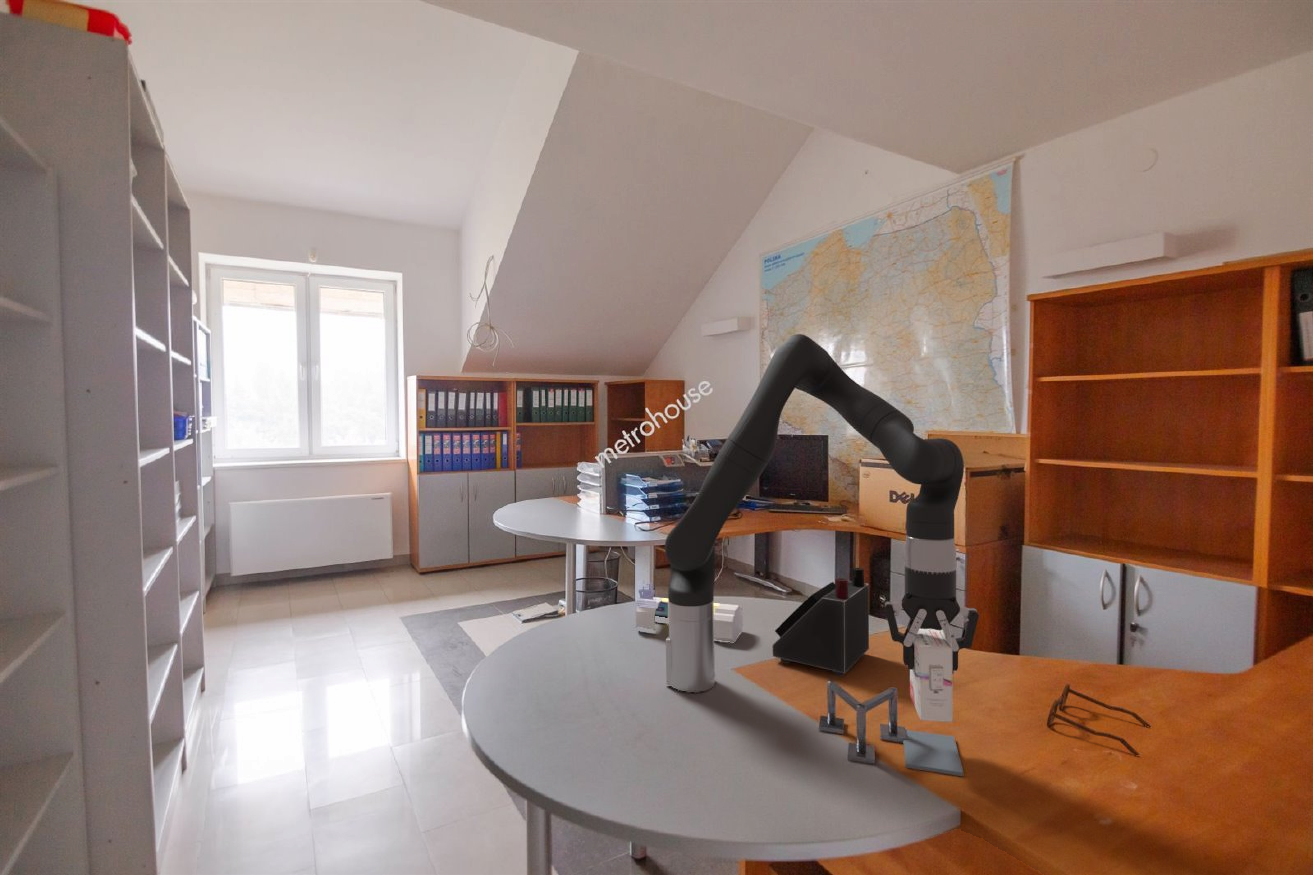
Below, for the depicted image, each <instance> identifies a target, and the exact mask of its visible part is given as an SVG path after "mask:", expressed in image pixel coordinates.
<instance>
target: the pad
mask: <svg viewBox="0 0 1313 875" xmlns="http://www.w3.org/2000/svg"><path fill="white" fill-rule="evenodd" d="M905 730H906V740H904V739H903V743H902V744H903V753H904V761H905V762H904V763H905V768H907V769H912V770H920V771H926V772H932V773H940V774H944V775H945V774H946V775H953V776H957V777H964V770H963V766H962V762H961V758H960V754H959V751H958V747H957V744H956V740H955V739H956V738H955V736H954V735H946V734H939V733H932V732H925V731H919V730H911V729H910V730H909V729H905Z"/></svg>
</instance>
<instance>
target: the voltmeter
mask: <svg viewBox="0 0 1313 875" xmlns="http://www.w3.org/2000/svg"><path fill="white" fill-rule="evenodd" d="M864 572H865V571H864V568H861V567H853V568H852V575H851V576H852V578H851V580H848V579H847V578H843V577H840V578H839V577H837V578H835V583H834V581H832V582H830V583H828V584H827V585H824V587H822V588H820V589H819V590H817V591H816V592H814V593H812V594H811V595H810V596H809V597H808V598H806V600H804V602H802V603H801V604H800V605H799V606H798V607H797V608H796V609H795V610H794V611H793V612H792V613H791V614H790V615H789V616H788V617H787V618H786V619H785V620H784V621H783V622H782V623H781V624H779V626H778V627H777V628H776V629H775V630H774V632H775V633H776V634H777V635H778V636H779V638H778V639H777V640H776V641H775V642H774V643H773V644H772V657H774V658H776V659H780V662H781V663H782V664H790V663H791V662H796V663H799V664H802V665H803V664H804V665H809V666H813V667H817V668H821V669H826V670H830V671H832V672H833V675H834V676H838V677H841V676H844V674H845V673H847V672H848V671H849V670H850V669H851V668H852V667H853V666H854V664H856V663H857V661H859V659H860V658H861V657H863V655H864V654H865V653H866V652H867V651H868V650H869V649H870V632H869V631H870V628H869V627H870V623H869V621H870V612H869V610H870V607H869V606H870V603H869V602H870V600H869V595H870V594H869V591H870V590H869V583H866V582H865V575H864V574H865V573H864Z"/></svg>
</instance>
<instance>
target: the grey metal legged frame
mask: <svg viewBox="0 0 1313 875" xmlns="http://www.w3.org/2000/svg"><path fill="white" fill-rule="evenodd" d="M826 690H827V691H826V694H827V695H826V699H827V703H826V705H827V706H826V707H827V713H826V714H827V715H820V716H819V724H818V731H819V732H822V733H823V732H825V733H831V734H839V735H844V730H845V729H844V727H845V718H840V717H837V712H836V710H837V705H836V703H837V702H836V701H837V698H836V697H837V696H838V697H839V698H840V699H841V700H843V701H844V702H845V703H846V704H847V705H848V706H850V707H851V708H852V709H853V710H854V711H855V712H856V742H848V744H847V745H848V746H847V748H848V749H847V761H850V762H851V761H852V762H857V763H864V764H869V765H876V764H875V763H876V759H875V757H876V756H875V753H876V750H875V749H876V748H875V745H869V744H867V714H866V713H868V712H869V711H871V710H872V709H875V708H877V707H878V706H880V705H882V704H884V703H885V702H887V701H888V724H884V723H880V727H879V729H880V731H879V732H880V741H887V742H894V743H902V744H903V739H904V740H906V730H907V729H906V727H905V726H899V725H898V689H897V687H893V686H890V687H888V689H886V690H884V691H882V692H880V693H878V694H876V695H874V696H872V697H871V698H869V699H867V700H865V701H863V702H860V701H859V700H858V699H856V697H854V696H853V695H852V694H850V693H849V692H848V691H846V690H845V689H844V688H843V687H842V686H840V685H839V684H838V683H837V682H836V681H835V680H834V679H827V682H826ZM836 695H837V696H836Z"/></svg>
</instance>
